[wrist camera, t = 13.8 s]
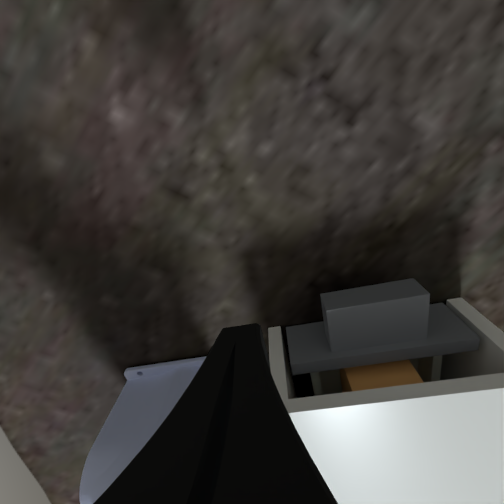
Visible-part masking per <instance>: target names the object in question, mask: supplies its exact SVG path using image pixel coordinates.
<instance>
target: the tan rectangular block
mask: <svg viewBox="0 0 504 504" xmlns="http://www.w3.org/2000/svg"><path fill="white" fill-rule="evenodd" d="M340 377H341V385H342V392H351V391H359V390H367V389H376V388H384V387H392V386H400V385H408V384H416V383H424V382H423V380H422V379H421V377H420V376H419V374H418V373H417V371H416V370H415V368H414V367H413V365H412V364H411V362H410V360H401V361H394V362H387V363H379V364H372V365H364V366H357V367H349V368H342V369H340Z"/></svg>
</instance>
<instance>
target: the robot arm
mask: <svg viewBox="0 0 504 504" xmlns="http://www.w3.org/2000/svg"><path fill="white" fill-rule="evenodd" d="M124 376H125V377H126V379H127V382H126V384H125V386H124V388H123V389H122V391H121V393H120V395H119V397H118V399H117V401H116V403H115V404H114V406H113V408H112V410H111V412H110V414H109V416H108V418H107V419H106V421H105V423H104V425H103V427H102V429H101V431H100V433H99V434H98V436H97V438H96V440H95V442H94V444H93V446H92V448H91V450H90V452H89V454H88V457H87V460H86V462H85V466H84V469H83V473H82V478H81V483H80V493H79V496H80V504H338V502H337V501H336V499H335V498H334V496H333V494H332V492H331V491H330V489H329V487H328V486H327V484H326V482H325V480H324V479H323V477H322V475H321V473H320V472H319V470H318V468H317V466H316V465H315V463H314V461H313V459H312V458H311V456H310V454H309V452H308V451H307V449H306V447H305V445H304V443H303V441H302V439H301V437H300V436H299V434H298V432H297V430H296V428H295V426H294V424H293V422H292V420H291V418H290V416H289V414H288V412H287V409H286V407H285V405H284V403H283V401H282V399H281V396H280V394H279V392H278V389H277V387H276V385H275V382H274V380H273V377H272V375H271V369H270V362H269V358H268V354H267V350H266V346H265V342H264V338H263V334H262V330H261V326H260V325H259V324H257V323H254V324H248V325H241V326H235V327H228V328H223V329H222V331H221V332H220V334H219V336H218V337H217V339H216V341H215V343H214V345H213V346H212V348H211V350H210V352H209V353H208V355H207V356H205V357H198V358H192V359H185V360H178V361H171V362H165V363H158V364H151V365H145V366H138V367H131V368H127V369H126V370H125V372H124Z"/></svg>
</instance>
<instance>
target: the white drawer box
mask: <svg viewBox="0 0 504 504" xmlns="http://www.w3.org/2000/svg"><path fill="white" fill-rule="evenodd" d="M446 306H447V307H448V308H449V309H450V310H451V311H452V312H453V313H454V314H455V315H456V316H458V317H459V318H460V319H461V320H462V321H463V322H464V323H465V324H466V325H467V326H468V327H469V328H470V329H471V330H472V331H474V332H475V333H476V334H477V335H478V336H479V337H480V338H481V339H480V344H479V350H476V351H468V352H461V353H454V354H446V355H442V365H441V374H440V381H432V382H424V383H416V384H408V385H400V386H392V387H384V388H376V389H367V390H359V391H351V392H343V393H335V394H327V395H319V396H311V397H303V398H297V395H296V391H295V387H294V382H293V378H292V374H291V369H290V365H289V361H288V356H287V352H286V348H285V343H284V339H283V335H282V330H281V326H277V327H271V328H268V338H269V362H270V369H271V375H272V377H273V380H274V382H275V385H276V387H277V389H278V392H279V394H280V396H281V399H282V401H283V403H284V405H285V407H286V409H287V412H288V414H289V416H290V418H291V420H292V422H293V424H294V426H295V428H296V430H297V432H298V434H299V436H300V437H301V439H302V441H303V443H304V445H305V447H306V449H307V451H308V452H309V454H310V456H311V458H312V459H313V461H314V463H315V465H316V466H317V468H318V470H319V472H320V473H321V475H322V477H323V479H324V480H325V482H326V484H327V486H328V487H329V489H330V491H331V492H332V494H333V496H334V498H335V499H336V501H337V502H338V504H504V332H502V331H501V330H500V329H499V328H498V327H496V326H495V325H494V324H493V323H492V322H490V321H489V320H488V319H487V318H485V317H484V316H483V315H482V314H481V313H479V312H478V311H477V310H476V309H475V308H473V307H472V306H471V305H470V304H469V303H467V302H466V301H465V300H464V299H462V298H461V297H460V298H454V299H448V300H446Z"/></svg>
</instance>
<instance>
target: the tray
mask: <svg viewBox="0 0 504 504" xmlns="http://www.w3.org/2000/svg"><path fill="white" fill-rule="evenodd" d="M320 299H321V306H322V313H323V320H324V321H321V322H315V323H309V324H302V325H296V326H290V327H286V333H287V341H288V348H289V356H290V364H291V368H292V373H293V375H297V374H305V373H310V375H311V381H312V386H313V391H314V396H319V395H327V394H335V393H343V392H342V385H341V377H340V369H342V368H349V367H357V366H364V365H372V364H379V363H387V362H394V361H401V360H410V362H411V364H412V365H413V367H414V368H415V370H416V371H417V373H418V374H419V376H420V377H421V379H422V380H423V382H432V381H440V374H441V365H442V355H446V354H454V353H461V352H468V351H476V350H479V344H480V339H481V338H480V337H479V336H478V335H477V334H476V333H475V332H474V331H472V330H471V329H470V328H469V327H468V326H467V325H466V324H465V323H464V322H463V321H462V320H461V319H460V318H459V317H458V316H456V315H455V314H454V313H453V312H452V311H451V310H450V309H449V308H448V307H447V306H446V305H445V304H444V303H443V302H442V303H436V304H430V305H429V303H430V293H429V292H428V291H427V290H426V289H424V288H423V287H422V286H421V285H420V284H419V283H418V282H417V281H416V280H415V279H414V278H411V279H405V280H399V281H393V282H387V283H381V284H375V285H369V286H364V287H358V288H352V289H346V290H340V291H334V292H328V293H322V294H320Z"/></svg>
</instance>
